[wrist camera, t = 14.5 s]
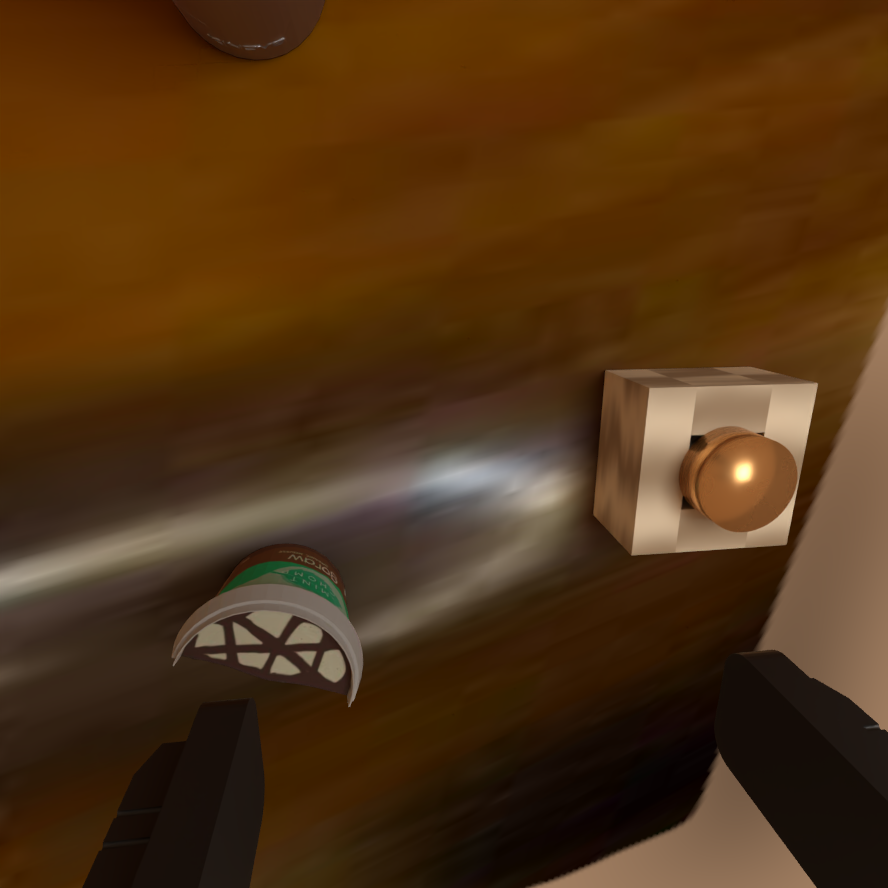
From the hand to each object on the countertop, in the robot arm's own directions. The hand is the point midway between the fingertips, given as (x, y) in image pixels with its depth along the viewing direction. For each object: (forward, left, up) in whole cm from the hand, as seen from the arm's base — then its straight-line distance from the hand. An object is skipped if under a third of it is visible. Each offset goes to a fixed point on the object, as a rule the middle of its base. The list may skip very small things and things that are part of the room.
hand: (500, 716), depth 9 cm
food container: (+15, -8, -33) cm, 37 cm away
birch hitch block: (+6, +22, -33) cm, 40 cm away
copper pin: (+6, +22, -33) cm, 40 cm away
